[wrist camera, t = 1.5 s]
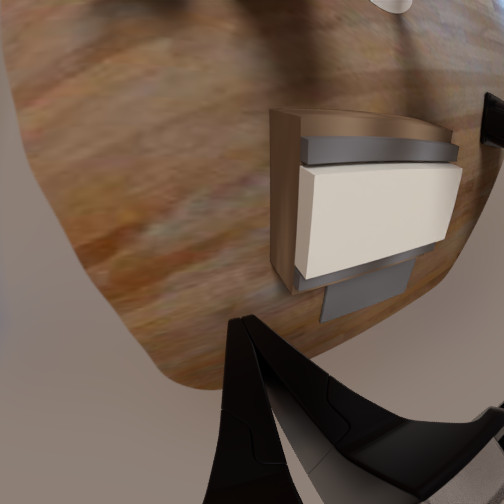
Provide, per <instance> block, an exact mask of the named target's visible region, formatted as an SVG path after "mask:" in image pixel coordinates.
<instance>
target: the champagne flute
mask: <svg viewBox="0 0 504 504" xmlns="http://www.w3.org/2000/svg"><path fill="white" fill-rule="evenodd" d="M370 1H371V2H373V3H374V4H375V5H377V6H378V7H380V8H381V9H383V10H385V11H388V12H390V13H396V14H398V13H403V12H406V11H407V10H408V9H409V8H410V6H411V4H412V1H413V0H370Z"/></svg>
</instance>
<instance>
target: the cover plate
mask: <svg viewBox="0 0 504 504" xmlns="http://www.w3.org/2000/svg"><path fill="white" fill-rule="evenodd" d="M462 170H463V169H462V168H460V167H458V166H456V165H454V164H452V163H450V162H445V161H371V162H347V163H330V164H316V165H304V166H300V172H299V197H298V217H297V235H296V250H295V266H296V267H297V268H298V270H299V271H300V272H301V274H302V275H303V276H304V278H305V279H310V278H313V277H317V276H321V275H325V274H328V273H332V272H336V271H339V270H343V269H346V268H350V267H354V266H357V265H361V264H364V263H368V262H371V261H375V260H378V259H381V258H385V257H388V256H392V255H395V254H398V253H401V252H405V251H408V250H411V249H414V248H418V247H421V246H424V245H427V244H430V243H433V242H437V241H440V240H443V239H444V238H445V235H446V232H447V228H448V225H449V222H450V218H451V215H452V211H453V208H454V204H455V200H456V196H457V192H458V188H459V184H460V179H461V175H462Z"/></svg>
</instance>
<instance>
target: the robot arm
mask: <svg viewBox="0 0 504 504" xmlns="http://www.w3.org/2000/svg"><path fill="white" fill-rule="evenodd" d="M481 143H482V144H484V145H489V146H493V147H497V148H501V147H502V148H504V101H502V100H501V99H499V98H498V97H496V96H494V95H493V94H491V93H488V92H487V93H486V98H485V111H484V121H483V129H482V137H481ZM271 408H272V409H271ZM221 409H222V410H221V417H220V428H219V437H218V442H217V447H216V453H215V457H214V461H213V466H212V470H211V474H210V479H209V483H208V487H207V491H206V494H205V497H204V501H203V503H202V504H303V502H302V500H301V498H300V496H299V494H298V492H297V490H296V487H295V485H294V483H293V480H292V478H291V475H290V472H289V469H288V466H287V465H286V464H287V462H286V459H285V455H284V452H283V448H282V445H281V441H280V438H279V434H278V431H277V427H276V424H275V420H274V417H273V413H272V410H273V412H274V414H275V416H276V418H277V420H278V422H279V424H280V426H281V428H282V429H283V431H284V433H285V435H286V437H287V439H288V441H289V443H290V444H291V446H292V448H293V450H294V452H295V454H296V455H297V457H298V459H299V461H300V462H301V464H302V466H303V468H304V469H305V471H306V473H307V474H308V477H309V478H310V480H311V482H312V484H313V485H314V487H315V489H316V490H317V492H318V494H319V495H320V497H321V499H322V501H323V502H324V504H504V401H503V402H502V403H501V404H500V405H499V406H498V407H492V406H491V407H488V408H487V409H485V410H484V411H483V412H482V413H481V414H479V415H478V416H477V417H476V418H474V419H473V420H472V421H471V422H469V423H444V422H442V423H441V422H427V421H415V420H410V419H406V418H403V417H400V416H398V415H396V414H394V413H392V412H390V411H388V410H386V409H384V408H382V407H380V406H378V405H377V404H375V403H373V402H371V401H369V400H367V399H365V398H364V397H362V396H360V395H359V394H357V393H355V392H354V391H352V390H350V389H349V388H347V387H346V386H345V385H343V384H342V383H340V382H339V381H337V380H336V379H335V378H334V377H332V376H329V374H328V373H327V372H326V371H324V370H323V369H322V368H320V367H319V366H318V365H316V364H315V363H314V362H312V361H311V360H310V359H309V358H307V357H306V356H305V355H303V354H302V353H301V352H300V351H298V350H297V349H296V348H295V347H293V346H292V345H291V344H289V343H288V342H287V341H286V340H284V339H283V338H282V337H281V336H279V335H278V334H277V333H276V332H274V331H273V330H272V329H271V328H270V327H268V326H267V325H266V324H265V323H263V322H262V321H261V320H260V319H259V318H257V317H256V316H255V315H253V314H251V315H247V316H243V317H241V318H234V319H230V320H229V321H228V328H227V340H226V352H225V365H224V377H223V391H222V404H221Z"/></svg>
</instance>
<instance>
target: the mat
mask: <svg viewBox="0 0 504 504" xmlns="http://www.w3.org/2000/svg"><path fill="white" fill-rule="evenodd" d="M415 260H416V258H413V259H410V260H407V261H404V262H401V263H398V264H395V265H392V266H389V267H386V268H383V269H380V270H377V271H374V272H370V273H367V274H364V275H361V276H357V277H354V278H351V279H348V280H344V281H341V282H337V283H334V284H331V285H327V286H326V290H325V295H324V301H323V306H322V311H321V316H320V323H323V322H326V321H329V320H332V319H335V318H338V317H341V316H343V315H346V314H349V313H352V312H355V311H357V310H360V309H363V308H365V307H368V306H371V305H373V304H376V303H378V302H381V301H383V300H386V299H388V298H391V297H393V296H396V295H398V294H401V293H403V292H404V291H405V288H406V286H407V283H408V280H409V277H410V275H411V272H412V269H413V266H414V263H415Z"/></svg>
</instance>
